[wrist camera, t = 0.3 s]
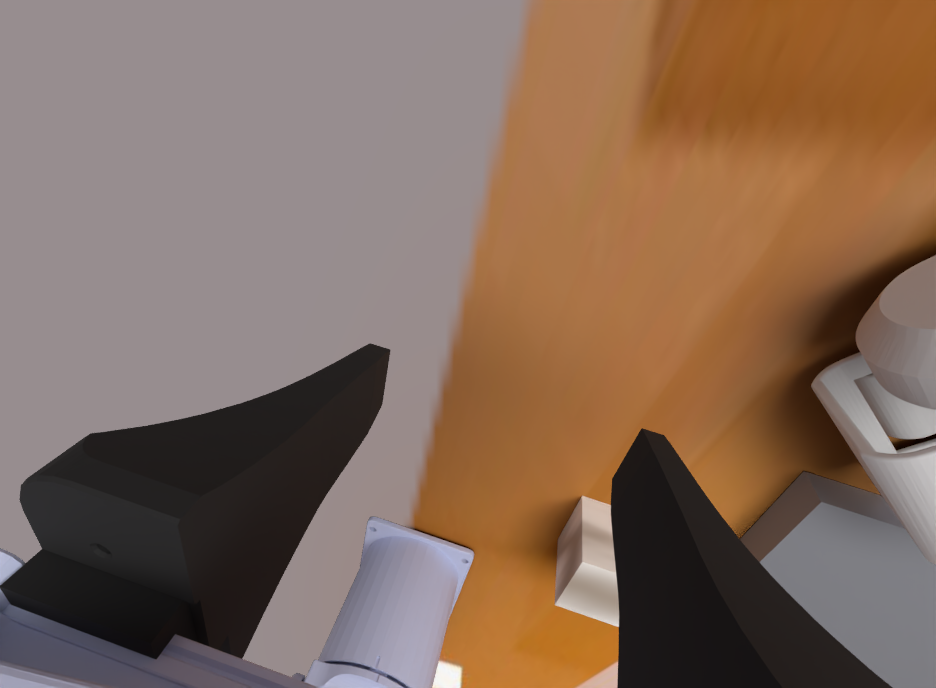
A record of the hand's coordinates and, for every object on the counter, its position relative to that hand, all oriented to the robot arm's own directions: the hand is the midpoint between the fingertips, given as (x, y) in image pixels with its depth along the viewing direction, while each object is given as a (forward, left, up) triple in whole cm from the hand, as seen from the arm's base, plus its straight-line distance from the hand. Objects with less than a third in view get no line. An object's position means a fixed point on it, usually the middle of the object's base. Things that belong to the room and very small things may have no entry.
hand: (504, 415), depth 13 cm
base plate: (-15, -23, -10) cm, 29 cm away
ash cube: (-15, -9, -10) cm, 20 cm away
